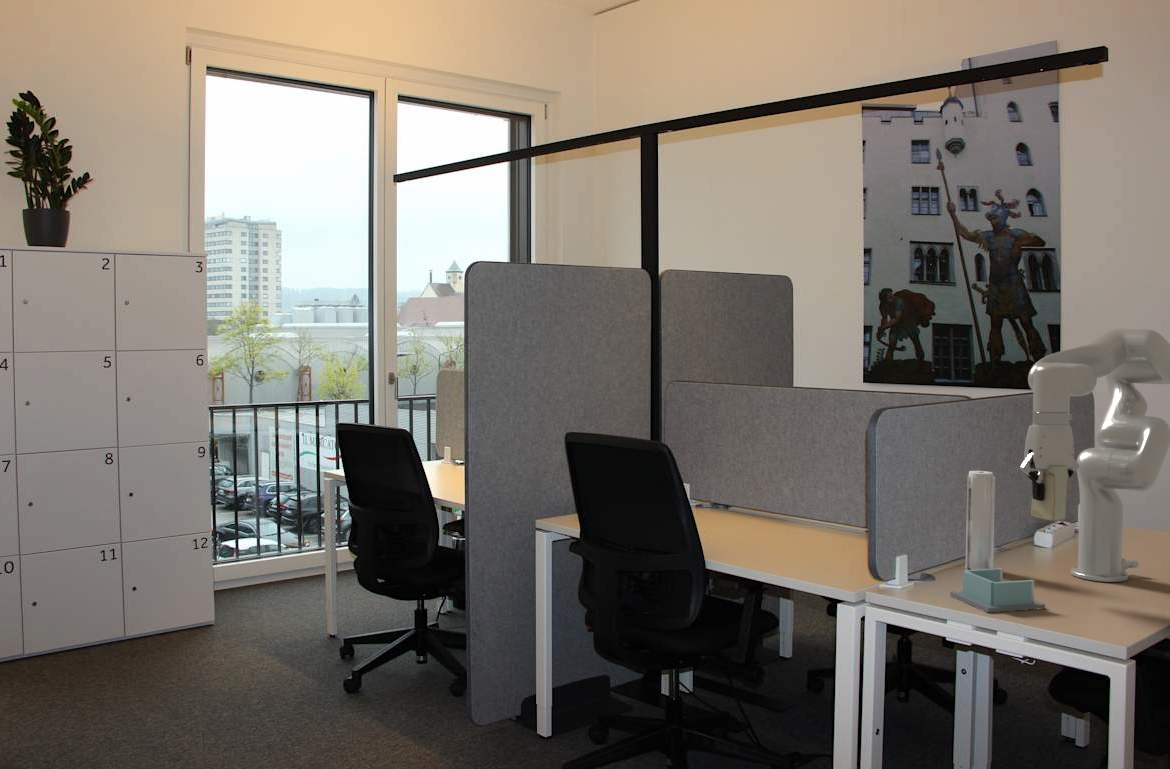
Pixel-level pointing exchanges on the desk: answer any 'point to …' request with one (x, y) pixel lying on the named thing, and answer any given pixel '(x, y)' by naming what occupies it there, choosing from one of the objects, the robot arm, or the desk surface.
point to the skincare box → (1052, 495)
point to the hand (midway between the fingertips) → (1049, 498)
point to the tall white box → (980, 520)
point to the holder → (996, 591)
